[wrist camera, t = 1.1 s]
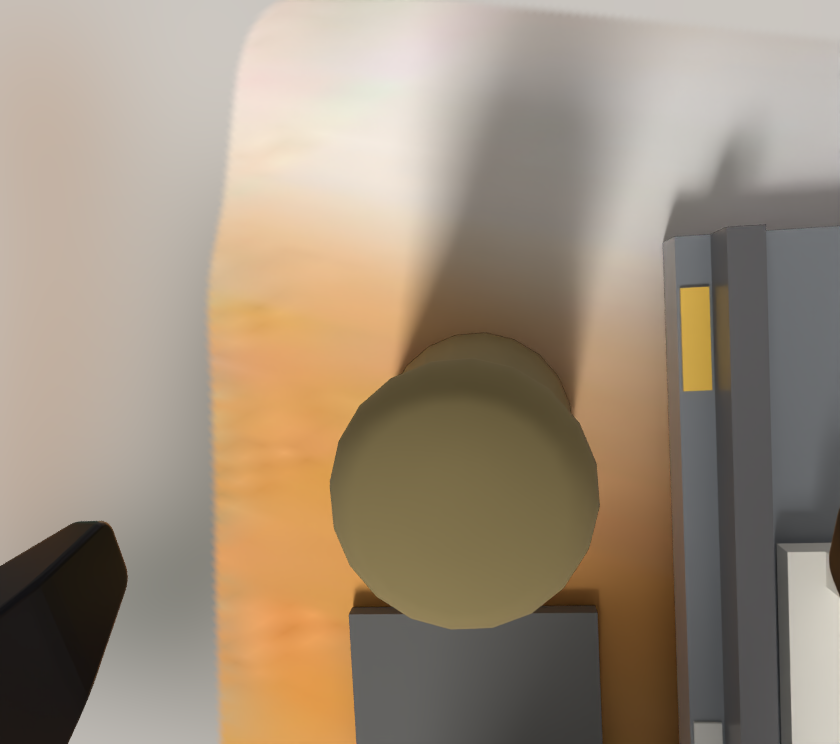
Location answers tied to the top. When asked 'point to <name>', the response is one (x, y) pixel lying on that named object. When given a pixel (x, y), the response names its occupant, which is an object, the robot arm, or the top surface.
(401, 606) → the cork
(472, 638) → the rubber pad
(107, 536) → the robot arm
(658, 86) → the top surface
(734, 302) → the grey slide rail tray
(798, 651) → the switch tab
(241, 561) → the top surface
